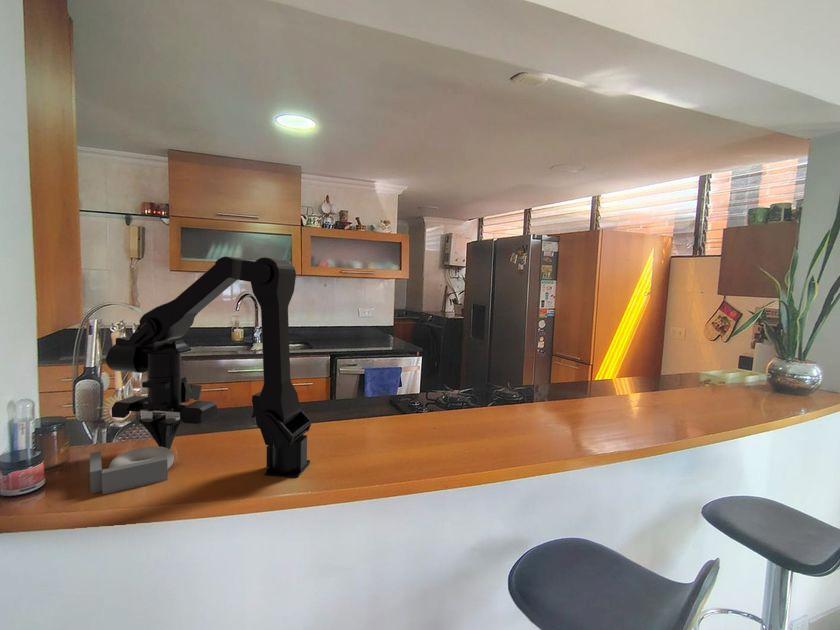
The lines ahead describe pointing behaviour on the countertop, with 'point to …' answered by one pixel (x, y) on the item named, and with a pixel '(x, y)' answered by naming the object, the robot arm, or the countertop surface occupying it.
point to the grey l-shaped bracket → (125, 474)
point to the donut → (143, 456)
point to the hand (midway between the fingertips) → (166, 450)
